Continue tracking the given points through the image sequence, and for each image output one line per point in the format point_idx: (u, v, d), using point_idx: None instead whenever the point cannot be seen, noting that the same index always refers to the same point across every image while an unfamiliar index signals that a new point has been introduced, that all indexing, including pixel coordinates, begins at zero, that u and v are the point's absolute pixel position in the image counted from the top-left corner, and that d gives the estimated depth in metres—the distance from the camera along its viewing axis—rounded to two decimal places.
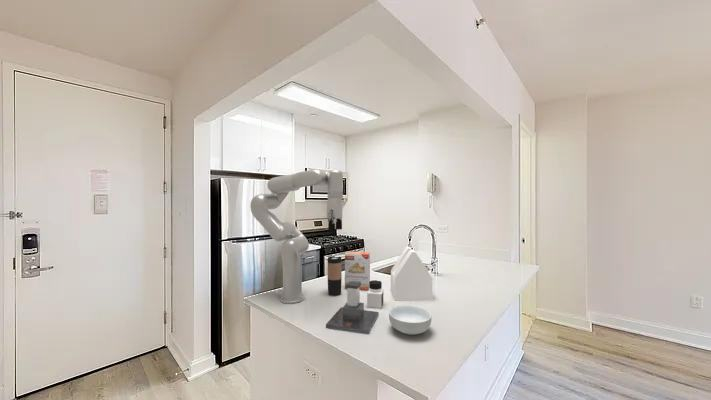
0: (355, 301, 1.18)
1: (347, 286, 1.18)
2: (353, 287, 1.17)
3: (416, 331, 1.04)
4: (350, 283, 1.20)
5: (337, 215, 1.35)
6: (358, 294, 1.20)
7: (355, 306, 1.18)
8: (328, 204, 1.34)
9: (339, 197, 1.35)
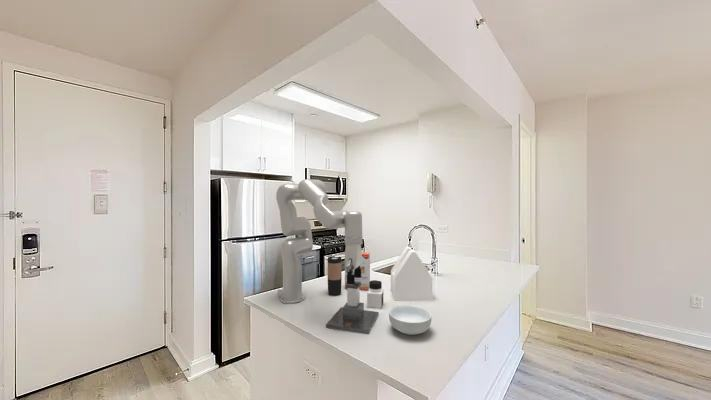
0: (355, 301, 1.18)
1: (347, 286, 1.18)
2: (353, 287, 1.17)
3: (416, 331, 1.04)
4: None
5: (357, 264, 1.17)
6: (358, 294, 1.20)
7: (355, 306, 1.18)
8: (346, 252, 1.16)
9: (359, 243, 1.17)
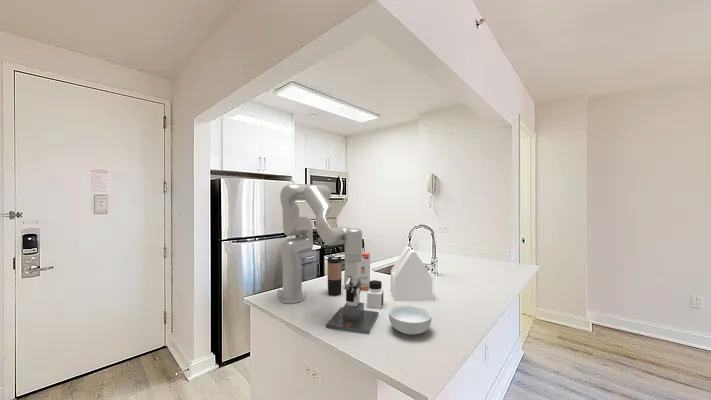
0: (355, 301, 1.18)
1: None
2: None
3: (416, 331, 1.04)
4: None
5: (356, 281, 1.17)
6: (358, 294, 1.20)
7: (355, 306, 1.18)
8: (346, 269, 1.16)
9: (358, 261, 1.17)
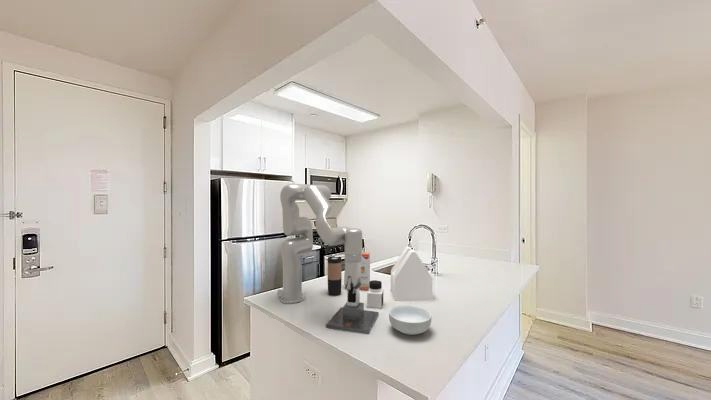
0: None
1: None
2: None
3: (416, 331, 1.04)
4: None
5: (356, 281, 1.17)
6: (358, 294, 1.20)
7: (355, 306, 1.18)
8: (346, 269, 1.16)
9: (358, 261, 1.17)
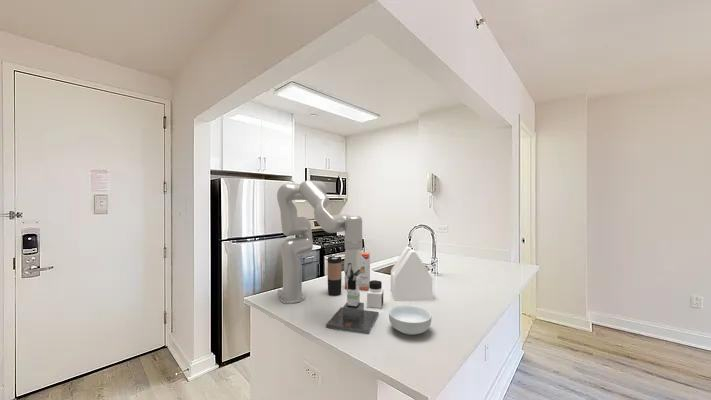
0: None
1: None
2: None
3: (416, 331, 1.04)
4: None
5: (356, 269, 1.17)
6: (358, 281, 1.20)
7: (355, 293, 1.18)
8: (346, 256, 1.16)
9: (358, 248, 1.17)
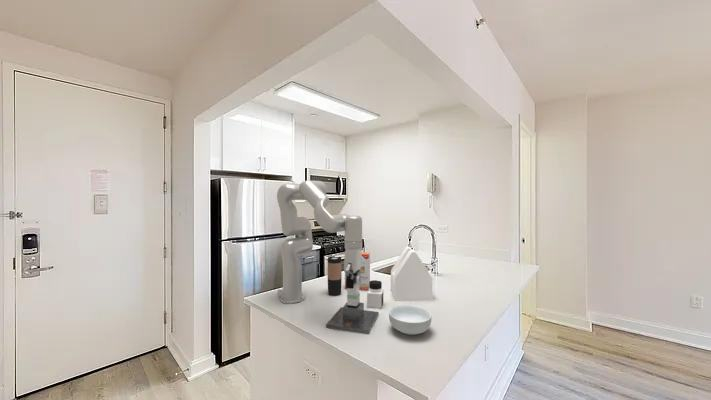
0: (355, 288, 1.18)
1: None
2: None
3: (416, 331, 1.04)
4: None
5: (356, 268, 1.17)
6: (358, 281, 1.20)
7: (355, 293, 1.18)
8: (346, 256, 1.16)
9: (358, 248, 1.17)
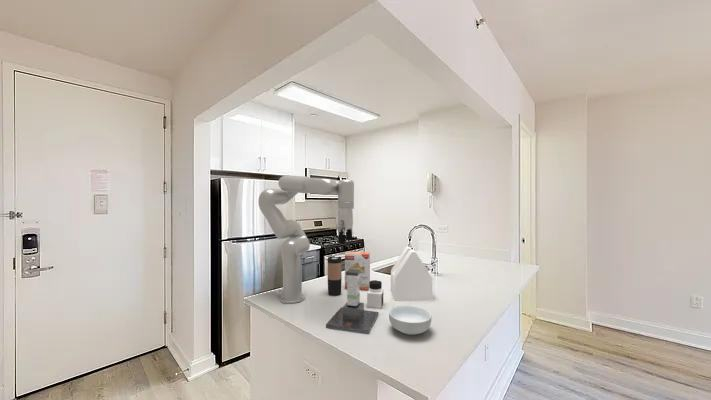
0: (355, 288, 1.18)
1: (347, 273, 1.18)
2: (353, 274, 1.17)
3: (416, 331, 1.04)
4: (350, 270, 1.20)
5: (348, 226, 1.31)
6: (358, 281, 1.20)
7: (355, 293, 1.18)
8: (339, 214, 1.30)
9: (350, 207, 1.31)
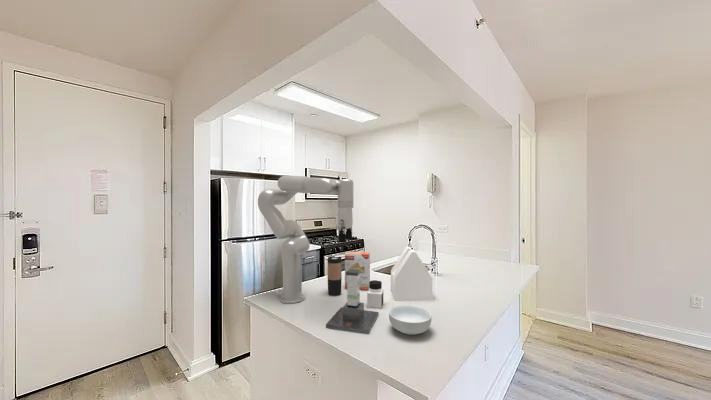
0: (355, 288, 1.18)
1: (347, 273, 1.18)
2: (353, 274, 1.17)
3: (416, 331, 1.04)
4: (350, 270, 1.20)
5: (348, 225, 1.32)
6: (358, 281, 1.20)
7: (355, 293, 1.18)
8: (338, 214, 1.30)
9: (350, 206, 1.31)
